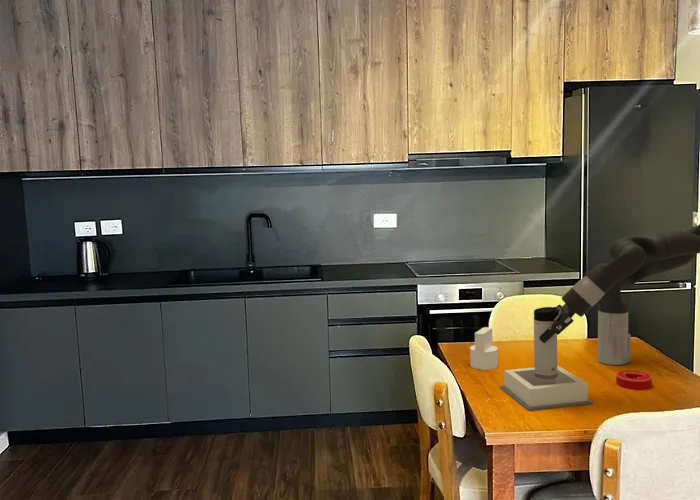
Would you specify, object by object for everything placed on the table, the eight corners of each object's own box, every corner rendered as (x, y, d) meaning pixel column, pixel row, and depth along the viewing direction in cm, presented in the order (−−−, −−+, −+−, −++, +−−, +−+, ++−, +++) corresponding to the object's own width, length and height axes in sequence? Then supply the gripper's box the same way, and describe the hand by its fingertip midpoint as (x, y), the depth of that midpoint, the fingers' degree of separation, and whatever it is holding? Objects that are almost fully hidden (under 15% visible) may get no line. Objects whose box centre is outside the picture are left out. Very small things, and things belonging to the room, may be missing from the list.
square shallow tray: (558, 381, 191) (558, 363, 191) (592, 403, 173) (593, 384, 172) (500, 387, 188) (499, 369, 187) (528, 410, 170) (528, 390, 169)
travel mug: (560, 379, 176) (559, 309, 173) (535, 379, 177) (534, 310, 174) (557, 372, 182) (556, 305, 179) (533, 372, 183) (532, 305, 181)
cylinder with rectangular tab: (492, 371, 204) (492, 335, 202) (466, 367, 208) (465, 332, 207) (501, 363, 211) (501, 328, 210) (475, 360, 216) (475, 326, 214)
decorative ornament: (621, 377, 193) (622, 367, 193) (655, 383, 187) (655, 373, 187) (611, 386, 186) (611, 376, 186) (646, 393, 180) (646, 382, 180)
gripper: (598, 311, 168) (553, 353, 171) (588, 299, 182) (546, 339, 185) (577, 291, 168) (532, 335, 171) (568, 282, 182) (527, 322, 185)
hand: (540, 337), depth 178 cm, fingers closed on travel mug, 6 cm apart
